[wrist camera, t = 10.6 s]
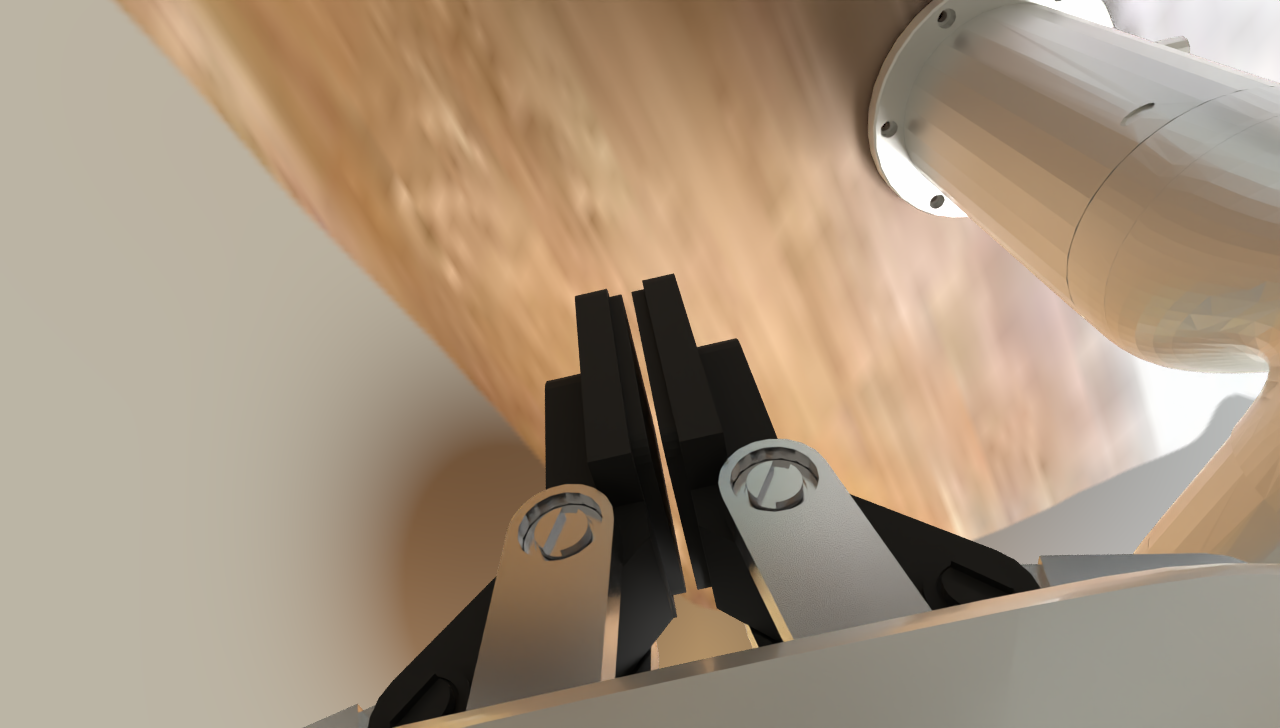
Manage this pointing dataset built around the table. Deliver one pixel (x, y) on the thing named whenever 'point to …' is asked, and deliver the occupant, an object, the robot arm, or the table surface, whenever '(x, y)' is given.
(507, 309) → the table surface
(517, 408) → the table surface
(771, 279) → the table surface
